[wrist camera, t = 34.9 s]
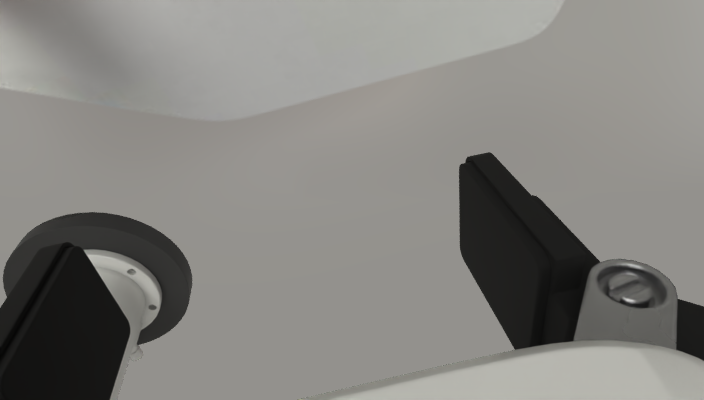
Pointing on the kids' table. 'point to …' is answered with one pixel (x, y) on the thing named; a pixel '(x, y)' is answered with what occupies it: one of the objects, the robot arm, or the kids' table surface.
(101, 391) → the robot arm
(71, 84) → the kids' table surface
